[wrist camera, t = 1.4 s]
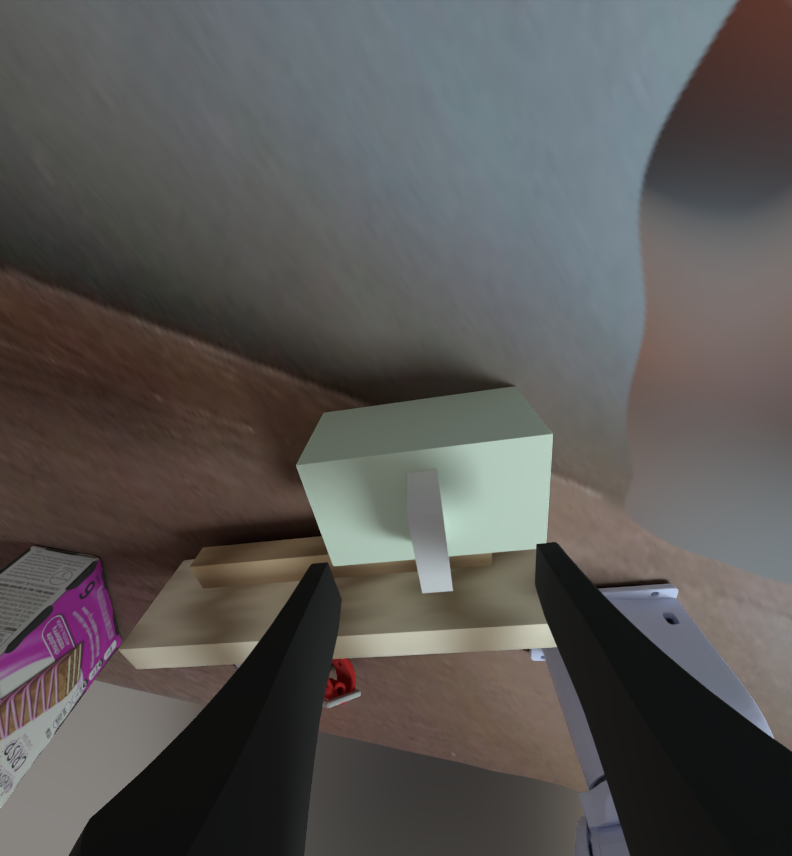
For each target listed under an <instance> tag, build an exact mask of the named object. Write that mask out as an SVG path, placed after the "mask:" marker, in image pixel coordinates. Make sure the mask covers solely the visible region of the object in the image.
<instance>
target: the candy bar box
mask: <svg viewBox="0 0 792 856" xmlns="http://www.w3.org/2000/svg"><path fill="white" fill-rule="evenodd" d="M121 643H122V641H121V638H120V634H119V631H118V627H117V623H116V620H115V616H114V612H113V608H112V604H111V600H110V597H109V593H108V589H107V585H106V581H105V577H104V573H103V569H102V565H101V561H100V559H99V558H98V557H94V556H91V555H87V554H82V553H74V552H68V551H61V550H56V549H51V548H46V547H40V546H32V547H30V548H29V549H28V550H26V551H25V552H24V553H23V554H21V555H20V556H19V557H18V558H16V559H15V560H14V561H13V562H11V563H10V564H9V565H7V566H6V567H5V568H4V569H2V570H1V571H0V809H1V807H2V806H3V805H4V803H5V802H6V801H7V799H8V798H9V796H10V795H11V793H12V792H13V791H14V789H15V788H16V786H17V785H18V783H19V782H20V780H21V779H22V778H23V776H24V775H25V774H26V772H27V771H28V770H29V768H30V767H31V766H32V764H33V763H34V762H35V760H36V759H37V757H38V756H39V755H40V754H41V752H42V751H43V750H44V748H45V747H46V746H47V744H48V743H49V742H50V740H51V739H52V737H53V736H54V734H55V733H56V732H57V730H58V729H59V727H60V726H61V725H62V723H63V722H64V720H65V719H66V718H67V717H68V715H69V714H70V712H71V711H72V710H73V708H74V707H75V706H76V704H77V703H78V702H79V700H80V699H81V697H82V696H83V695H84V693H85V692H86V691H87V689H88V688H89V687H90V685H91V684H92V682H93V681H94V680H95V678H96V677H97V676H98V674H99V673H100V672H101V670H102V669H103V667H104V666H105V665H106V663H107V662H108V661H109V659H110V658H111V657H112V655H113V654H114V653H115V651H116V650H117V649H118V647H119V646H120V645H121Z"/></svg>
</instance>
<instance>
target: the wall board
mask: <svg viewBox="0 0 792 856" xmlns="http://www.w3.org/2000/svg"><path fill="white" fill-rule="evenodd" d="M325 562H328V564H329V566H330V569H331V572H332V574H333V577H334V580H335V582H336V585H337V588H338V590H339V593H340V596H341V598H342V602H341V613H340V622H339V630H338V635H337V640H336V645H335V650H334V654H333V659H343V658H362V657H381V656H400V655H419V654H439V653H458V652H477V651H496V650H515V649H534V648H553V647H557V645H556V643H555V641H554V638H553V636H552V633H551V631H550V629H549V626H548V624H547V621H546V619H545V616H544V613H543V610H542V607H541V604H540V600H539V597H538V594H537V590H536V587H535V566H536V549H530V550H518V551H506V552H495V553H483V554H472V555H460V556H449V563H450V571H451V579H452V587H453V591H447V592H433V593H422V589H421V584H420V579H419V574H418V569H417V564H416V559H414V560H402V561H390V562H379V563H367V564H356V565H344V566H333V564H332V562H331V559H330V556H329V553H328V551H327V548H326V545H325V543H324V540H323V537H322V536H319V537H308V538H298V539H287V540H277V541H267V542H256V543H246V544H235V545H225V546H214V547H204V548H202V549H201V551H200V552H199V554H198V555H197V557H196V558H195V559H191V560H184V561H183V562H182V563H181V565H180V566H179V567H178V569H177V570H176V571H175V573H174V574H173V576H172V577H171V578H170V580H169V581H168V582H167V584H166V585H165V586H164V588H163V589H162V591H161V592H160V593H159V595H158V596H157V597H156V599H155V600H154V601H153V603H152V604H151V605H150V607H149V608H148V610H147V611H146V612H145V614H144V615H143V616H142V618H141V619H140V620H139V622H138V623H137V624H136V626H135V627H134V629H133V630H132V631H131V633H130V634H129V635H128V637H127V638H126V639H125V641H124V642H123V644H122V645H121V646H120V648H119V649H118V650H119V651H120V652H121V653H122V654H123V655H124V656H125V657H126V658H127V659H128V661H129V662H130V663H131V664H132V665H133V666H134V667H135V668H136V669H152V668H172V667H191V666H210V665H229V664H242V663H243V662H244V661H245V659H246V658H247V657H248V656H249V654H250V653H251V652H252V650H253V649H254V648H255V646H256V645H257V643H258V642H259V641H260V639H261V638H262V637H263V635H264V634H265V633H266V631H267V630H268V628H269V627H270V626H271V624H272V623H273V621H274V620H275V618H276V617H277V615H278V614H279V612H280V611H281V610H282V608H283V607H284V605H285V604H286V602H287V601H288V599H289V598H290V596H291V594H292V593H293V591H294V590H295V588H296V587H297V585H298V584H299V582H300V580H301V579H302V577H303V576H304V574H305V572H306V571H307V569H308V568H309V566H310V565H311V564H314V563H325Z"/></svg>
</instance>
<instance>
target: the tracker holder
mask: <svg viewBox="0 0 792 856" xmlns="http://www.w3.org/2000/svg"><path fill="white" fill-rule="evenodd" d="M332 664H333V665H334V667H335V669H336V674H337V680H334V679H332V678H330V679H329V678H328V682H327V687H326V691H325V696H324V700H323V705H322V706H323V707H326V708H330V707H333V706H336V705H338V704H339V705H340V704H344V703H346V702H347V701H349V700H351V699H354V698H357V697H359V696H360V694H361V692H360V690H357V689H355V686H356V676H355V672H354V668H353V666H352V664H351V662H350V661H349V659H348V658H343V659H332ZM233 665H234V666H235V667H236V668H239V667H240V666H241V664H233Z"/></svg>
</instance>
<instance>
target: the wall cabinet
mask: <svg viewBox="0 0 792 856" xmlns="http://www.w3.org/2000/svg"><path fill="white" fill-rule="evenodd" d="M552 442H553V433H552V432H551V431H550V429H549V428H548V427H547V425H546V424H545V423H544V422H543V420H542V419H541V418H540V416H539V415H538V414H537V413H536V411H535V410H534V409H533V408H532V406H531V405H530V404H529V402H528V401H527V400H526V399H525V397H524V396H523V395H522V393H521V392H520V391H519V390H518V388H517V387H516V386H513V387H506V388H498V389H491V390H484V391H477V392H469V393H462V394H455V395H448V396H441V397H433V398H426V399H419V400H412V401H405V402H397V403H390V404H383V405H376V406H369V407H361V408H354V409H347V410H340V411H333V412H325V413H323V415H322V417H321V419H320V420H319V422H318V424H317V426H316V428H315V430H314V432H313V434H312V436H311V437H310V439H309V441H308V443H307V445H306V447H305V449H304V451H303V453H302V454H301V456H300V458H299V460H298V462H297V464H296V467H297V470H298V473H299V475H300V478H301V481H302V483H303V486H304V489H305V492H306V494H307V497H308V500H309V502H310V505H311V508H312V510H313V513H314V516H315V518H316V521H317V524H318V527H319V529H320V532H321V535H322V537H323V540H324V543H325V545H326V548H327V551H328V553H329V556H330V559H331V562H332V564H333V566H344V565H356V564H367V563H379V562H390V561H402V560H414V559H416V564H417V569H418V574H419V579H420V584H421V589H422V593H433V592H447V591H453V587H452V579H451V571H450V563H449V556H460V555H472V554H483V553H495V552H506V551H518V550H530V549H536V544H541V543H546V541H547V524H548V508H549V491H550V475H551V459H552Z"/></svg>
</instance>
